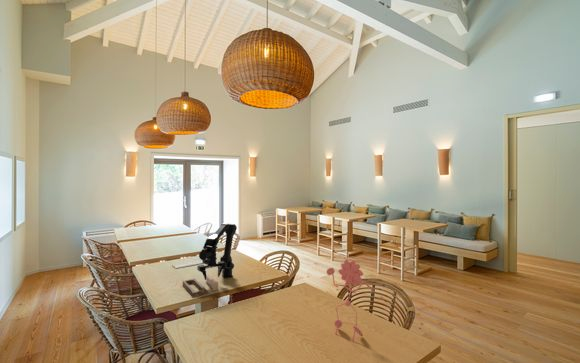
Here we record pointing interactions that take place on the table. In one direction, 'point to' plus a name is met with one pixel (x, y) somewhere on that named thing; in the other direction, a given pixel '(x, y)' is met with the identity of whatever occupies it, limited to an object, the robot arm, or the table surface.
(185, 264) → the baseboard molding
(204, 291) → the frame
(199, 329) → the table surface
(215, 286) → the clay strip
